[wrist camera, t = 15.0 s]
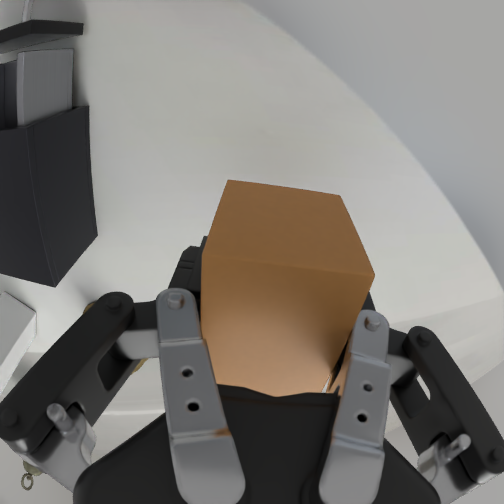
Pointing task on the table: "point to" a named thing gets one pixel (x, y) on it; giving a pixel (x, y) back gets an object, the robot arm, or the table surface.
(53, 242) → the black drawer cabinet
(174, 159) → the table surface
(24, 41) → the drawer
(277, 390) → the cardboard box
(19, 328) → the milk carton
